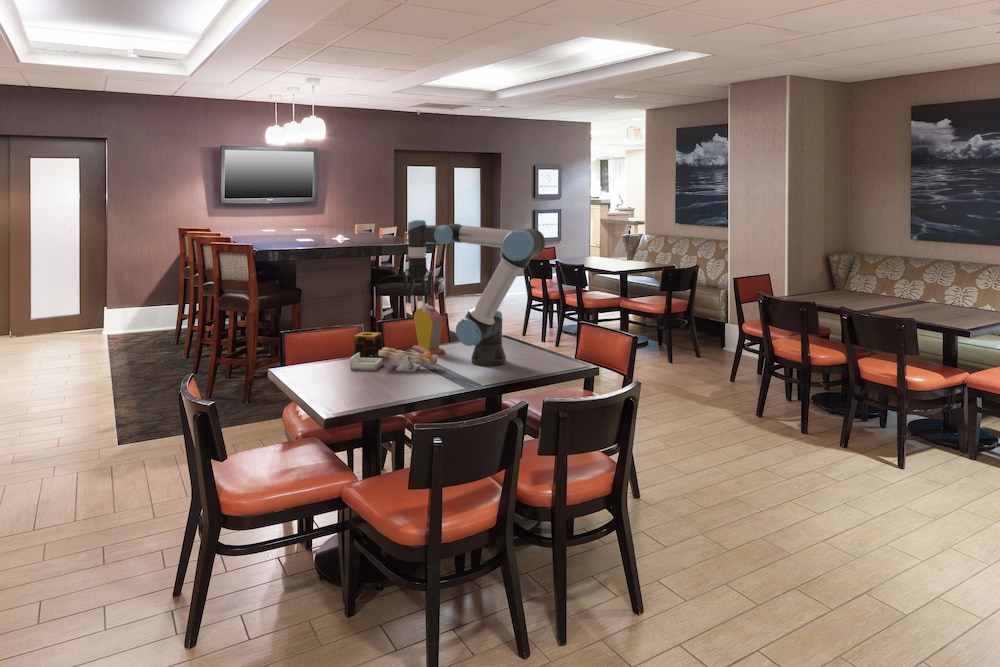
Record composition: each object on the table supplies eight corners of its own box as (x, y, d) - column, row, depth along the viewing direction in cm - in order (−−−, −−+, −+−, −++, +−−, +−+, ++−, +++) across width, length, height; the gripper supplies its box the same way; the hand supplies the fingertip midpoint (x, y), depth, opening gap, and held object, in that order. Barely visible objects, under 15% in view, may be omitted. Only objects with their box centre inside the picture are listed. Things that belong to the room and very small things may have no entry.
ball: (431, 360, 315) (433, 352, 314) (429, 362, 311) (431, 354, 311) (423, 357, 315) (425, 349, 314) (421, 359, 312) (423, 351, 311)
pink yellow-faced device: (447, 354, 341) (447, 308, 337) (429, 357, 336) (428, 309, 332) (427, 346, 360) (426, 302, 356) (409, 348, 355) (408, 303, 351)
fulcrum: (420, 366, 319) (419, 351, 318) (414, 371, 310) (414, 356, 308) (402, 365, 320) (401, 351, 319) (395, 370, 311) (395, 356, 310)
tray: (382, 364, 322) (382, 353, 321) (375, 370, 311) (375, 358, 310) (358, 363, 323) (358, 352, 322) (350, 369, 313) (349, 358, 312)
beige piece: (439, 360, 323) (441, 351, 322) (433, 367, 310) (434, 358, 310) (384, 351, 325) (385, 342, 324) (375, 357, 313) (376, 348, 312)
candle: (375, 358, 334) (374, 336, 332) (353, 357, 336) (353, 335, 334) (383, 353, 343) (382, 332, 342) (362, 352, 345) (361, 331, 344)
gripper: (439, 256, 320) (440, 310, 325) (399, 255, 322) (400, 309, 327) (435, 257, 313) (436, 312, 317) (394, 257, 315) (396, 311, 320)
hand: (418, 310), depth 322 cm, fingers open, 4 cm apart
